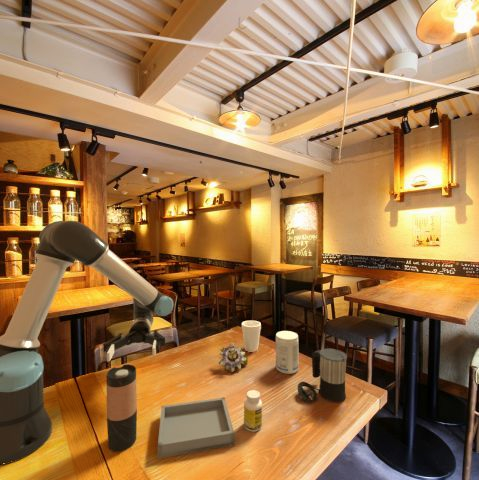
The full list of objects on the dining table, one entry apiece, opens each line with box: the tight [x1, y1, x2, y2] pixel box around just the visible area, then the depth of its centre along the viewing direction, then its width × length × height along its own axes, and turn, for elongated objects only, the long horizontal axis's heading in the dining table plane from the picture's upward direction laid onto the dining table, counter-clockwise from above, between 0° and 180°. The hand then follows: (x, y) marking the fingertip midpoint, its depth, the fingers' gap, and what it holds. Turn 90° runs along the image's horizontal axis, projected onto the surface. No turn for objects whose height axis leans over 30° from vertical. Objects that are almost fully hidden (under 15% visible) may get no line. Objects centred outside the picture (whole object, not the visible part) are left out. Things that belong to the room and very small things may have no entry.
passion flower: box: [218, 342, 248, 373], centre depth 116 cm, size 11×11×12 cm
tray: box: [157, 397, 235, 460], centre depth 79 cm, size 20×16×4 cm
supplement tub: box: [275, 330, 300, 375], centre depth 114 cm, size 10×10×15 cm
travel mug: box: [106, 364, 138, 453], centre depth 75 cm, size 8×8×20 cm
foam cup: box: [241, 320, 262, 352], centre depth 132 cm, size 10×9×13 cm
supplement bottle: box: [243, 389, 263, 433], centre depth 81 cm, size 5×5×10 cm
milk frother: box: [297, 347, 348, 403], centre depth 96 cm, size 14×16×15 cm
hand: (131, 354), depth 86 cm, fingers open, 13 cm apart
